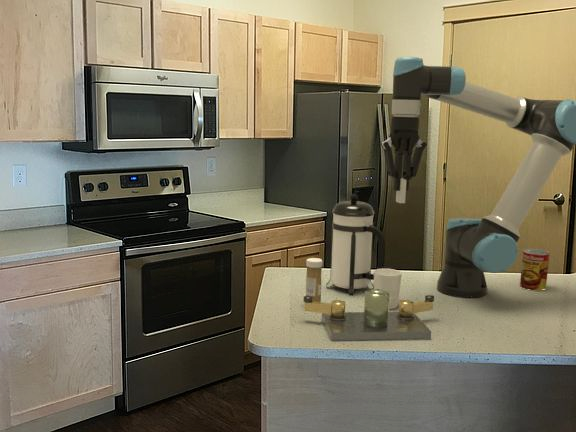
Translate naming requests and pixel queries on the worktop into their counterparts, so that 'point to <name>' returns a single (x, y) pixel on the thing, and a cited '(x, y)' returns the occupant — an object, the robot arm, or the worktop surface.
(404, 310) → the lever
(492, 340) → the worktop surface
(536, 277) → the canned food
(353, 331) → the base
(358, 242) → the coffee press
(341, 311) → the lever
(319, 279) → the sprinkles bottle
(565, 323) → the worktop surface
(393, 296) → the white cup
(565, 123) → the robot arm
